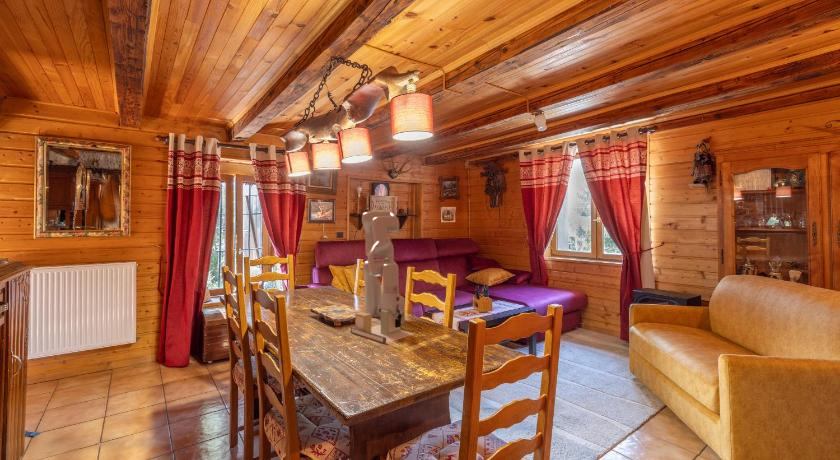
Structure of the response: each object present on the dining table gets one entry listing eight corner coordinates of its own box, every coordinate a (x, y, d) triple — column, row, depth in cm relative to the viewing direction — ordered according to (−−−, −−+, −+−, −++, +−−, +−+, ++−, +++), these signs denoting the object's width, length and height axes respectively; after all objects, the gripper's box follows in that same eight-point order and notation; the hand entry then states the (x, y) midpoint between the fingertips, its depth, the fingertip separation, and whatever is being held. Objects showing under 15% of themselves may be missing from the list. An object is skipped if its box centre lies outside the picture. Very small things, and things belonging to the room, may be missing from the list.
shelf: (381, 327, 202) (381, 319, 202) (414, 336, 186) (414, 328, 186) (350, 335, 188) (350, 327, 188) (384, 347, 172) (384, 338, 172)
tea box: (380, 333, 186) (380, 310, 186) (394, 329, 193) (394, 307, 192) (387, 335, 183) (387, 312, 183) (401, 331, 190) (401, 308, 189)
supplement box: (384, 323, 209) (383, 295, 208) (400, 322, 211) (400, 294, 211) (387, 328, 200) (387, 299, 199) (405, 326, 203) (404, 297, 202)
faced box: (362, 330, 192) (361, 311, 192) (371, 333, 187) (371, 314, 187) (355, 332, 189) (355, 313, 189) (364, 335, 184) (364, 316, 184)
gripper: (409, 290, 184) (409, 326, 185) (384, 286, 196) (384, 320, 197) (397, 292, 179) (397, 330, 179) (372, 288, 190) (373, 323, 191)
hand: (391, 325), depth 188 cm, fingers open, 9 cm apart
